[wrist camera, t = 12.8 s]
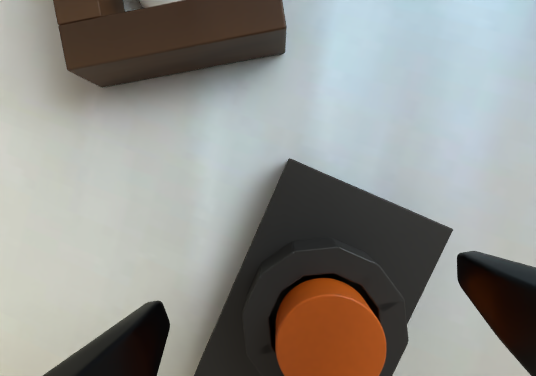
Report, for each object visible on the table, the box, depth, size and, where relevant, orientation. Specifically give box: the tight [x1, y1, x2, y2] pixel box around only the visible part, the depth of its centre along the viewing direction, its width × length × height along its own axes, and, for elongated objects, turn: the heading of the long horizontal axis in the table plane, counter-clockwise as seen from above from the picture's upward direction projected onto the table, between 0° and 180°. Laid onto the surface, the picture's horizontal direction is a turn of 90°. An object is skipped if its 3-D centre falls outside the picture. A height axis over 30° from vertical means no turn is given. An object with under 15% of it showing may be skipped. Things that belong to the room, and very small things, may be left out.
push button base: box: [194, 159, 453, 376], centre depth 13 cm, size 13×9×4 cm
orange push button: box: [275, 278, 386, 376], centre depth 11 cm, size 4×4×2 cm
